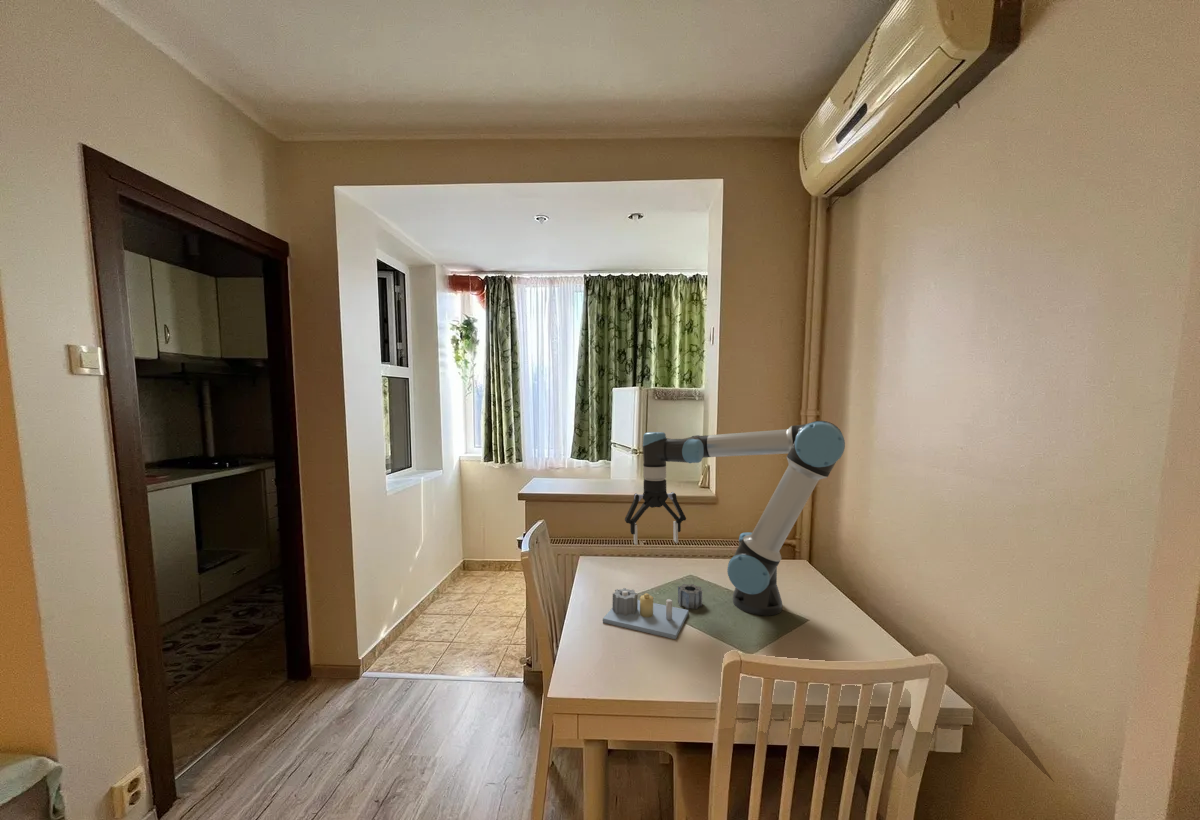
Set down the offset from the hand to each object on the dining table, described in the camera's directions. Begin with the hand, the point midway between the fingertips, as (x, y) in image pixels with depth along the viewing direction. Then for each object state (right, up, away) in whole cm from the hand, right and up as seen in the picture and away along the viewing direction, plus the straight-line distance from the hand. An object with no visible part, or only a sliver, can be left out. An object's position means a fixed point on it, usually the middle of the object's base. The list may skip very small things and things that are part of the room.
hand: (655, 542), depth 145 cm
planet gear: (+11, -19, -2) cm, 22 cm away
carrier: (-4, -19, -12) cm, 23 cm away
